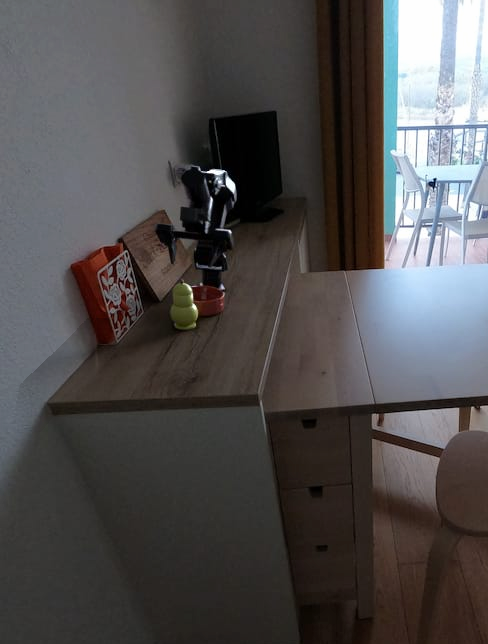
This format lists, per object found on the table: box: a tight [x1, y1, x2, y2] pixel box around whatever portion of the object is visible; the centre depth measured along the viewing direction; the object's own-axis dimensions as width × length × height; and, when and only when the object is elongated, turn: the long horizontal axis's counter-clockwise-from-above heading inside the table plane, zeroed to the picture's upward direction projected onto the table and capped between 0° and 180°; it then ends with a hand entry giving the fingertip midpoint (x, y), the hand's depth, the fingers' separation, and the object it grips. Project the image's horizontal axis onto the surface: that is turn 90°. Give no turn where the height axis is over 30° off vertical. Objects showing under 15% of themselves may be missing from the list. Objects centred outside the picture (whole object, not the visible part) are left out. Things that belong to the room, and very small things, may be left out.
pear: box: [169, 278, 199, 331], centre depth 115 cm, size 7×7×12 cm
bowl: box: [190, 285, 226, 317], centre depth 127 cm, size 12×12×4 cm
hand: (190, 265), depth 117 cm, fingers open, 9 cm apart
